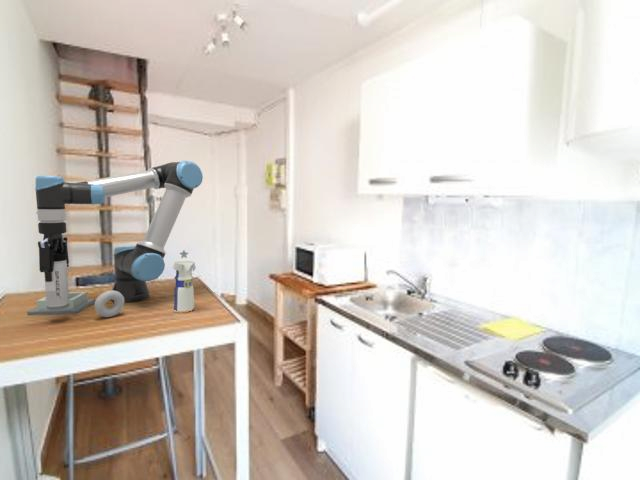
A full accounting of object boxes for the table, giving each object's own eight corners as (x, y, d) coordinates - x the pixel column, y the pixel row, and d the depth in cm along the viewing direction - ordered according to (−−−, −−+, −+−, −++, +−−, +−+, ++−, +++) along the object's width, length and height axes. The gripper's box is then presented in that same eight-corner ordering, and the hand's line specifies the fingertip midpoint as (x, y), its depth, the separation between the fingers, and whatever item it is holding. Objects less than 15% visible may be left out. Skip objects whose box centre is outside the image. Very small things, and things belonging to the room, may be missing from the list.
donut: (96, 321, 121) (96, 293, 120) (92, 319, 123) (92, 292, 122) (126, 314, 129) (126, 288, 128) (122, 312, 131) (121, 287, 130)
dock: (95, 301, 143) (95, 290, 143) (76, 313, 128) (76, 301, 127) (51, 302, 140) (51, 291, 139) (27, 314, 124) (26, 302, 124)
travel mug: (53, 304, 122) (50, 249, 120) (73, 304, 123) (70, 249, 120) (41, 310, 116) (37, 252, 114) (61, 310, 117) (58, 252, 114)
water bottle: (199, 310, 137) (200, 248, 135) (179, 314, 131) (178, 250, 128) (190, 305, 143) (190, 246, 140) (169, 309, 137) (169, 247, 134)
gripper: (55, 219, 124) (58, 281, 127) (21, 223, 106) (26, 296, 108) (78, 220, 126) (81, 281, 129) (48, 223, 107) (53, 295, 110)
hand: (56, 287), depth 119 cm, fingers closed on travel mug, 6 cm apart
